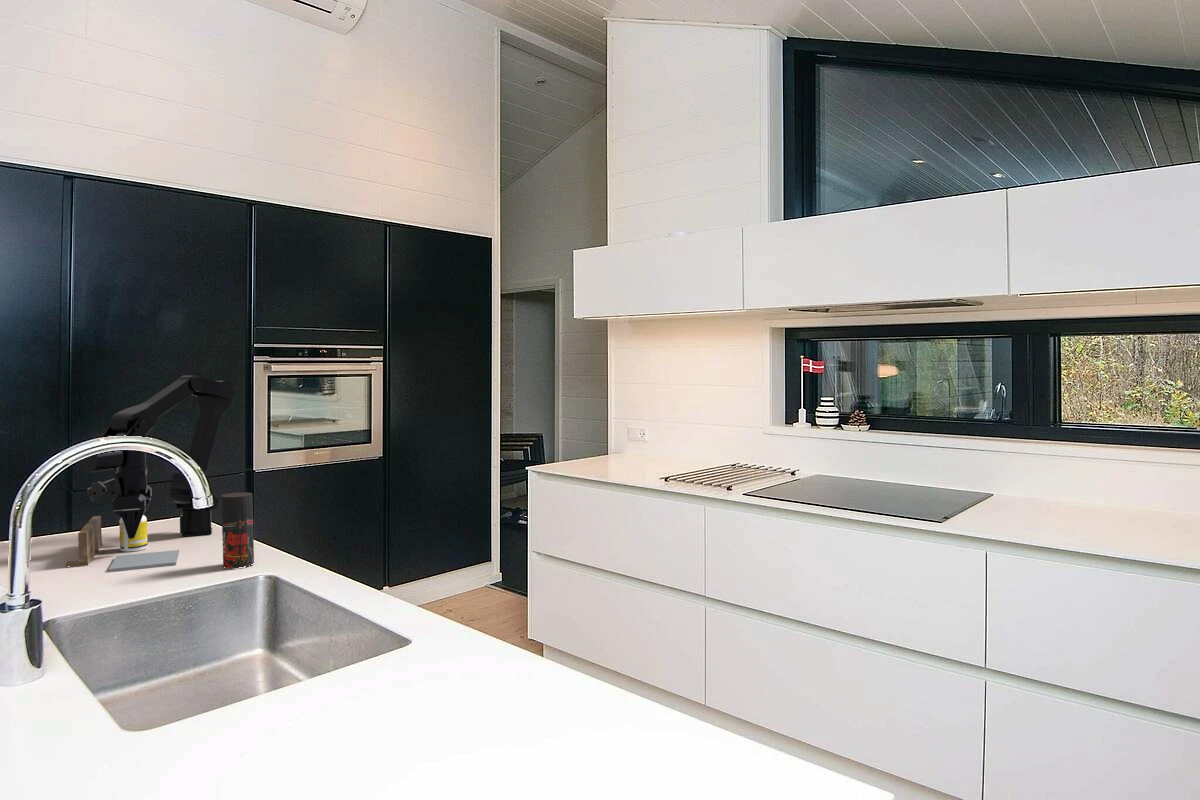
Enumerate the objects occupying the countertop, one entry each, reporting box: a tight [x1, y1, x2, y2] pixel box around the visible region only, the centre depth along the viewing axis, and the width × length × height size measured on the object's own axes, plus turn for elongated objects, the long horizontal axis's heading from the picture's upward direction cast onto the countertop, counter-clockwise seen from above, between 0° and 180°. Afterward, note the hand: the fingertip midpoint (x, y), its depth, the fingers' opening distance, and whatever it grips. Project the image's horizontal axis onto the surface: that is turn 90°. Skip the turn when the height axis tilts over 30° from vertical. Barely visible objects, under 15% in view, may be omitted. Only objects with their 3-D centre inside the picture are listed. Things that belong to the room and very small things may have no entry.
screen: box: [64, 515, 103, 568], centre depth 169 cm, size 4×20×7 cm, turn 26°
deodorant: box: [221, 492, 255, 569], centre depth 161 cm, size 6×6×15 cm
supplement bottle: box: [118, 515, 149, 553], centre depth 175 cm, size 5×5×10 cm
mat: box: [108, 549, 180, 573], centre depth 164 cm, size 12×12×1 cm
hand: (133, 534), depth 175 cm, fingers open, 9 cm apart
